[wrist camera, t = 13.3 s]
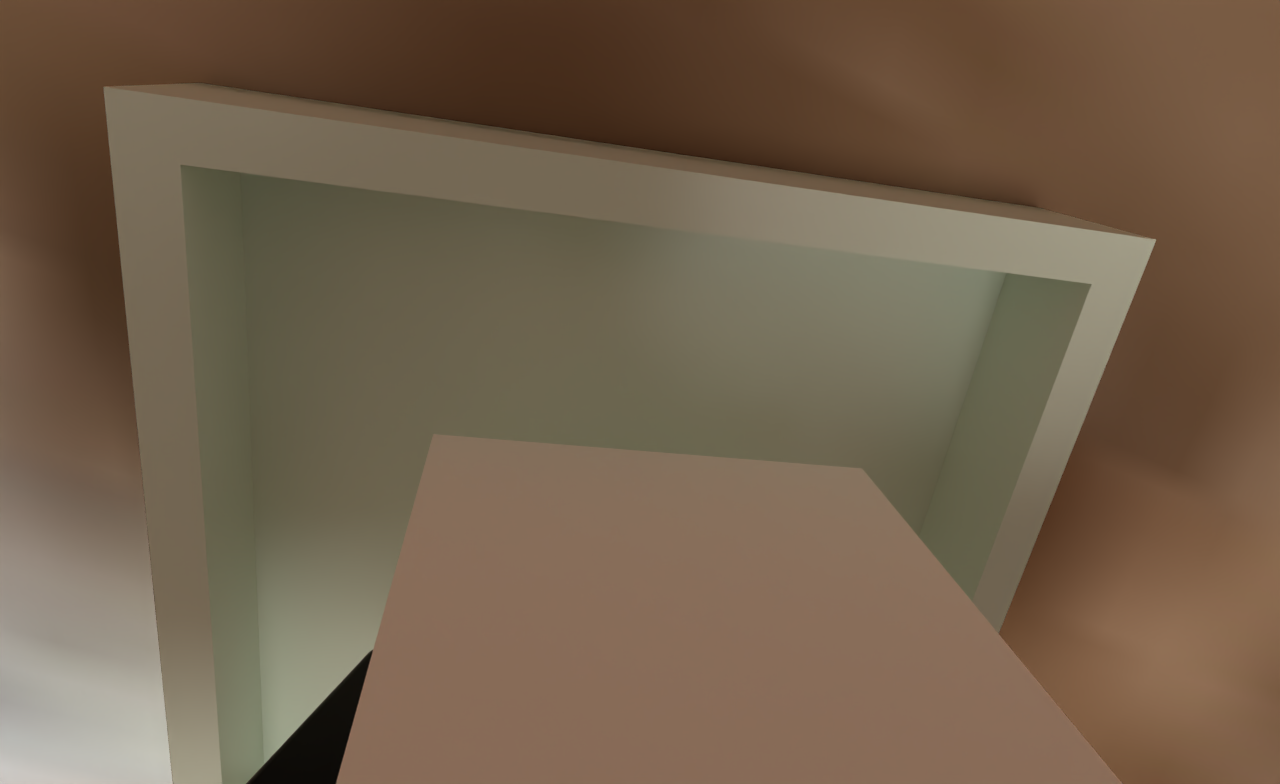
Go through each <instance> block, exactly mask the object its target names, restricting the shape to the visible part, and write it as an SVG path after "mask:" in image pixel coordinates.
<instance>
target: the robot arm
mask: <svg viewBox="0 0 1280 784" xmlns="http://www.w3.org/2000/svg"><path fill="white" fill-rule="evenodd" d="M372 652H373V650H371V651H370V652H369V653H368V654H367V655H366V656H365V657H364V658H363V659H362V660H361V661H360V662H359V663H358V664H357V666H356V667H355V668H354V669H353V670H352V671H351V672H350V673H349V674H348V675H347V676H346V677H345V678H344V679H343V680H342V682H341V683H340V684H339V685H338V686H337V687H336V688H335V689H334V690H333V691H332V692H331V693H330V694H329V695H328V697H327V698H326V699H325V700H324V701H323V702H322V703H321V704H320V705H319V706H318V707H317V708H316V709H315V710H314V711H313V713H312V714H311V715H310V716H309V717H308V718H307V719H306V720H305V721H304V722H303V723H302V724H301V725H300V726H299V728H298V729H297V730H296V731H295V732H294V733H293V734H292V735H291V736H290V737H289V738H288V739H287V740H286V741H285V742H284V744H283V745H282V746H281V747H280V748H279V749H278V750H277V751H276V752H275V753H274V754H273V755H272V756H271V757H270V759H269V760H268V761H267V762H266V763H265V764H264V765H263V766H262V767H261V768H260V769H259V770H258V771H257V772H256V773H255V775H254V776H253V777H252V778H251V779H250V780H249V781H248V782H247V783H246V784H336V782H337V778H338V775H339V771H340V767H341V764H342V760H343V757H344V753H345V749H346V746H347V742H348V739H349V735H350V731H351V728H352V724H353V721H354V717H355V713H356V710H357V706H358V703H359V699H360V695H361V692H362V688H363V685H364V681H365V677H366V674H367V670H368V667H369V663H370V659H371V656H372Z"/></svg>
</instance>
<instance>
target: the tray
mask: <svg viewBox="0 0 1280 784" xmlns="http://www.w3.org/2000/svg"><path fill="white" fill-rule="evenodd" d="M103 89H104V99H105V109H106V119H107V129H108V139H109V149H110V159H111V169H112V179H113V189H114V199H115V209H116V219H117V230H118V240H119V250H120V260H121V270H122V280H123V290H124V300H125V310H126V320H127V330H128V340H129V350H130V360H131V370H132V380H133V390H134V400H135V410H136V420H137V430H138V440H139V450H140V460H141V470H142V480H143V490H144V500H145V510H146V520H147V530H148V540H149V550H150V560H151V570H152V580H153V590H154V600H155V610H156V620H157V631H158V641H159V651H160V661H161V671H162V681H163V691H164V701H165V711H166V721H167V731H168V741H169V751H170V761H171V771H172V781H173V784H246V783H247V782H248V781H249V780H250V779H251V778H252V777H253V776H254V775H255V773H256V772H257V771H258V770H259V769H260V768H261V767H262V766H263V765H264V764H265V763H266V762H267V761H268V760H269V759H270V757H271V756H272V755H273V754H274V753H275V752H276V751H277V750H278V749H279V748H280V747H281V746H282V745H283V744H284V742H285V741H286V740H287V739H288V738H289V737H290V736H291V735H292V734H293V733H294V732H295V731H296V730H297V729H298V728H299V726H300V725H301V724H302V723H303V722H304V721H305V720H306V719H307V718H308V717H309V716H310V715H311V714H312V713H313V711H314V710H315V709H316V708H317V707H318V706H319V705H320V704H321V703H322V702H323V701H324V700H325V699H326V698H327V697H328V695H329V694H330V693H331V692H332V691H333V690H334V689H335V688H336V687H337V686H338V685H339V684H340V683H341V682H342V680H343V679H344V678H345V677H346V676H347V675H348V674H349V673H350V672H351V671H352V670H353V669H354V668H355V667H356V666H357V664H358V663H359V662H360V661H361V660H362V659H363V658H364V657H365V656H366V655H367V654H368V653H369V652H370V651H371V650H373V649H374V645H375V641H376V638H377V634H378V631H379V627H380V624H381V620H382V616H383V613H384V609H385V606H386V602H387V598H388V595H389V591H390V588H391V584H392V580H393V577H394V573H395V570H396V566H397V562H398V559H399V555H400V552H401V548H402V544H403V541H404V537H405V534H406V530H407V526H408V523H409V519H410V516H411V512H412V508H413V505H414V501H415V498H416V494H417V490H418V487H419V483H420V480H421V476H422V473H423V469H424V465H425V462H426V458H427V455H428V451H429V447H430V444H431V440H432V437H433V434H438V435H451V436H463V437H475V438H488V439H500V440H513V441H525V442H538V443H550V444H563V445H575V446H588V447H600V448H613V449H625V450H638V451H650V452H663V453H675V454H688V455H700V456H713V457H725V458H738V459H750V460H763V461H775V462H788V463H800V464H813V465H825V466H838V467H850V468H862V469H863V470H864V471H865V473H866V474H867V475H868V476H869V477H870V479H871V480H872V481H873V482H874V483H875V485H876V486H877V487H878V488H879V489H880V491H881V492H882V493H883V494H884V496H885V497H886V498H887V499H888V500H889V502H890V503H891V504H892V505H893V506H894V508H895V509H896V510H897V511H898V513H899V514H900V515H901V516H902V517H903V519H904V520H905V521H906V522H907V523H908V525H909V526H910V527H911V528H912V529H913V531H914V532H915V533H916V534H917V536H918V537H919V538H920V539H921V540H922V542H923V543H924V544H925V545H926V546H927V548H928V549H929V550H930V551H931V553H932V554H933V555H934V556H935V557H936V559H937V560H938V561H939V562H940V563H941V565H942V566H943V567H944V568H945V569H946V571H947V572H948V573H949V574H950V576H951V577H952V578H953V579H954V580H955V582H956V583H957V584H958V585H959V586H960V588H961V589H962V590H963V591H964V592H965V594H966V595H967V596H968V597H969V599H970V600H971V601H972V602H973V603H974V605H975V606H976V607H977V608H978V609H979V611H980V612H981V613H982V614H983V616H984V617H985V618H986V619H987V620H988V622H989V623H990V624H991V625H992V626H993V628H994V629H995V630H996V631H997V632H998V634H999V632H1000V629H1001V627H1002V624H1003V622H1004V619H1005V617H1006V614H1007V612H1008V609H1009V607H1010V604H1011V602H1012V599H1013V597H1014V594H1015V592H1016V589H1017V587H1018V584H1019V582H1020V579H1021V577H1022V574H1023V572H1024V569H1025V567H1026V564H1027V562H1028V559H1029V557H1030V554H1031V552H1032V549H1033V547H1034V544H1035V542H1036V539H1037V537H1038V534H1039V532H1040V529H1041V527H1042V524H1043V522H1044V519H1045V517H1046V514H1047V512H1048V509H1049V507H1050V504H1051V502H1052V499H1053V497H1054V494H1055V492H1056V489H1057V487H1058V484H1059V482H1060V479H1061V477H1062V474H1063V472H1064V469H1065V467H1066V464H1067V462H1068V459H1069V457H1070V454H1071V452H1072V449H1073V447H1074V444H1075V442H1076V439H1077V437H1078V434H1079V432H1080V429H1081V427H1082V424H1083V422H1084V419H1085V417H1086V414H1087V412H1088V409H1089V407H1090V404H1091V402H1092V399H1093V397H1094V394H1095V392H1096V389H1097V387H1098V384H1099V382H1100V379H1101V377H1102V374H1103V372H1104V369H1105V367H1106V364H1107V362H1108V359H1109V357H1110V354H1111V352H1112V349H1113V347H1114V344H1115V342H1116V339H1117V337H1118V334H1119V332H1120V329H1121V327H1122V324H1123V322H1124V319H1125V317H1126V314H1127V312H1128V309H1129V307H1130V304H1131V302H1132V299H1133V297H1134V294H1135V292H1136V289H1137V287H1138V284H1139V282H1140V279H1141V277H1142V274H1143V272H1144V269H1145V267H1146V264H1147V262H1148V259H1149V257H1150V254H1151V252H1152V249H1153V247H1154V244H1155V242H1156V239H1153V238H1149V237H1145V236H1142V235H1138V234H1134V233H1131V232H1127V231H1123V230H1120V229H1116V228H1112V227H1109V226H1105V225H1101V224H1098V223H1094V222H1090V221H1087V220H1083V219H1079V218H1076V217H1072V216H1068V215H1065V214H1061V213H1057V212H1054V211H1050V210H1046V209H1043V208H1038V207H1031V206H1024V205H1017V204H1011V203H1004V202H997V201H991V200H984V199H977V198H970V197H964V196H957V195H950V194H944V193H937V192H930V191H923V190H917V189H910V188H903V187H897V186H890V185H883V184H877V183H870V182H863V181H856V180H850V179H843V178H836V177H830V176H823V175H816V174H809V173H803V172H796V171H789V170H783V169H776V168H769V167H762V166H756V165H749V164H742V163H736V162H729V161H722V160H715V159H709V158H702V157H695V156H689V155H682V154H675V153H668V152H662V151H655V150H648V149H642V148H635V147H628V146H621V145H615V144H608V143H601V142H595V141H588V140H581V139H575V138H568V137H561V136H554V135H548V134H541V133H534V132H528V131H521V130H514V129H507V128H501V127H494V126H487V125H481V124H474V123H467V122H460V121H454V120H447V119H440V118H434V117H427V116H420V115H413V114H407V113H400V112H393V111H387V110H380V109H373V108H366V107H360V106H353V105H346V104H340V103H333V102H326V101H319V100H313V99H306V98H299V97H293V96H286V95H279V94H272V93H266V92H259V91H252V90H246V89H239V88H232V87H226V86H219V85H212V84H205V83H181V84H156V85H132V86H107V87H103Z"/></svg>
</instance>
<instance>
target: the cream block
mask: <svg viewBox="0 0 1280 784" xmlns="http://www.w3.org/2000/svg"><path fill="white" fill-rule="evenodd" d="M336 784H1122V783H1121V782H1120V780H1119V779H1118V778H1117V777H1116V775H1115V774H1114V773H1113V772H1112V771H1111V769H1110V768H1109V767H1108V766H1107V765H1106V763H1105V762H1104V761H1103V760H1102V758H1101V757H1100V756H1099V755H1098V754H1097V752H1096V751H1095V750H1094V749H1093V748H1092V746H1091V745H1090V744H1089V743H1088V742H1087V740H1086V739H1085V738H1084V737H1083V735H1082V734H1081V733H1080V732H1079V731H1078V729H1077V728H1076V727H1075V726H1074V725H1073V723H1072V722H1071V721H1070V720H1069V719H1068V717H1067V716H1066V715H1065V714H1064V712H1063V711H1062V710H1061V709H1060V708H1059V706H1058V705H1057V704H1056V703H1055V702H1054V700H1053V699H1052V698H1051V697H1050V695H1049V694H1048V693H1047V692H1046V691H1045V689H1044V688H1043V687H1042V686H1041V685H1040V683H1039V682H1038V681H1037V680H1036V679H1035V677H1034V676H1033V675H1032V674H1031V672H1030V671H1029V670H1028V669H1027V668H1026V666H1025V665H1024V664H1023V663H1022V662H1021V660H1020V659H1019V658H1018V657H1017V655H1016V654H1015V653H1014V652H1013V651H1012V649H1011V648H1010V647H1009V646H1008V645H1007V643H1006V642H1005V641H1004V640H1003V639H1002V637H1001V636H1000V635H999V634H998V632H997V631H996V630H995V629H994V628H993V626H992V625H991V624H990V623H989V622H988V620H987V619H986V618H985V617H984V616H983V614H982V613H981V612H980V611H979V609H978V608H977V607H976V606H975V605H974V603H973V602H972V601H971V600H970V599H969V597H968V596H967V595H966V594H965V592H964V591H963V590H962V589H961V588H960V586H959V585H958V584H957V583H956V582H955V580H954V579H953V578H952V577H951V576H950V574H949V573H948V572H947V571H946V569H945V568H944V567H943V566H942V565H941V563H940V562H939V561H938V560H937V559H936V557H935V556H934V555H933V554H932V553H931V551H930V550H929V549H928V548H927V546H926V545H925V544H924V543H923V542H922V540H921V539H920V538H919V537H918V536H917V534H916V533H915V532H914V531H913V529H912V528H911V527H910V526H909V525H908V523H907V522H906V521H905V520H904V519H903V517H902V516H901V515H900V514H899V513H898V511H897V510H896V509H895V508H894V506H893V505H892V504H891V503H890V502H889V500H888V499H887V498H886V497H885V496H884V494H883V493H882V492H881V491H880V489H879V488H878V487H877V486H876V485H875V483H874V482H873V481H872V480H871V479H870V477H869V476H868V475H867V474H866V473H865V471H864V470H863V469H862V468H850V467H838V466H825V465H813V464H800V463H788V462H775V461H763V460H750V459H738V458H725V457H713V456H700V455H688V454H675V453H663V452H650V451H638V450H625V449H613V448H600V447H588V446H575V445H563V444H550V443H538V442H525V441H513V440H500V439H488V438H475V437H463V436H451V435H438V434H433V437H432V440H431V444H430V447H429V451H428V455H427V458H426V462H425V465H424V469H423V473H422V476H421V480H420V483H419V487H418V490H417V494H416V498H415V501H414V505H413V508H412V512H411V516H410V519H409V523H408V526H407V530H406V534H405V537H404V541H403V544H402V548H401V552H400V555H399V559H398V562H397V566H396V570H395V573H394V577H393V580H392V584H391V588H390V591H389V595H388V598H387V602H386V606H385V609H384V613H383V616H382V620H381V624H380V627H379V631H378V634H377V638H376V641H375V645H374V649H373V652H372V656H371V659H370V663H369V667H368V670H367V674H366V677H365V681H364V685H363V688H362V692H361V695H360V699H359V703H358V706H357V710H356V713H355V717H354V721H353V724H352V728H351V731H350V735H349V739H348V742H347V746H346V749H345V753H344V757H343V760H342V764H341V767H340V771H339V775H338V778H337V782H336Z"/></svg>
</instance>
